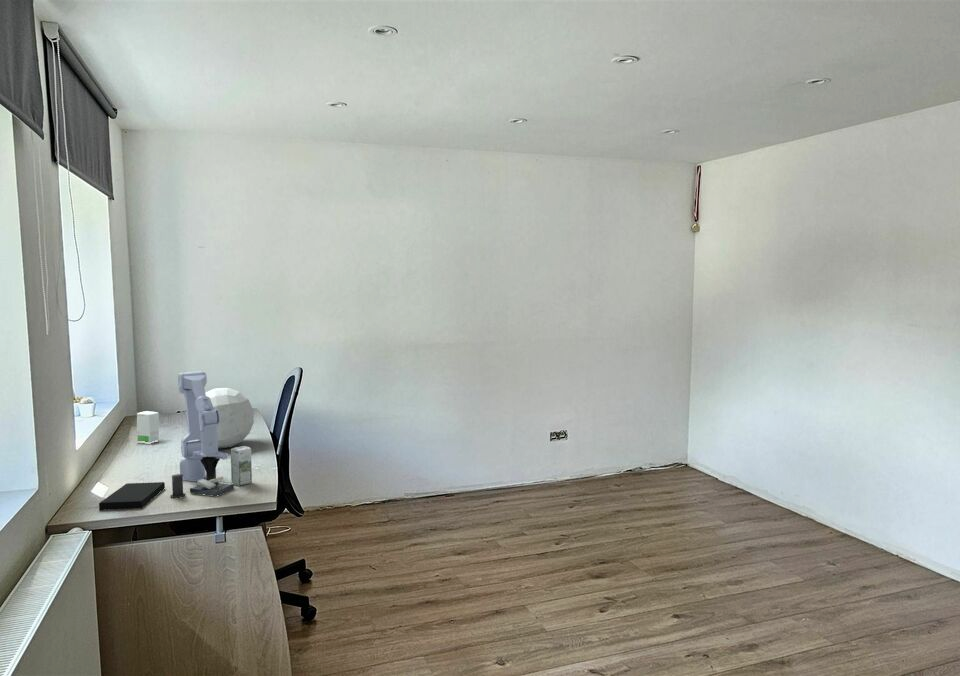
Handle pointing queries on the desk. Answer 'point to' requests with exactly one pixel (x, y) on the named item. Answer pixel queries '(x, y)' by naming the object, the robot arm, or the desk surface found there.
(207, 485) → the grey paddle
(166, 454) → the desk surface
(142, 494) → the external hard drive
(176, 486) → the post
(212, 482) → the orange-tipped paddle
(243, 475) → the syrup box
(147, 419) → the skincare box
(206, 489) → the panel
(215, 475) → the far cord post
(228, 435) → the ball
